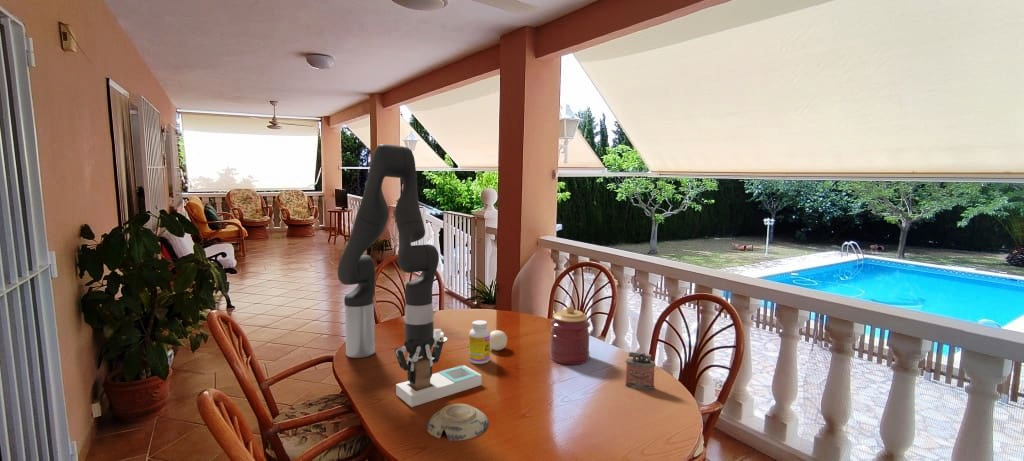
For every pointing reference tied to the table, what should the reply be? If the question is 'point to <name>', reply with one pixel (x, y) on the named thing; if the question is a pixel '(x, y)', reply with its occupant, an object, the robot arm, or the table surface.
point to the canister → (569, 337)
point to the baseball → (497, 340)
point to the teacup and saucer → (439, 335)
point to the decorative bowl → (458, 422)
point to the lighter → (640, 371)
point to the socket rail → (440, 385)
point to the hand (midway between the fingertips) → (419, 380)
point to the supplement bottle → (479, 343)
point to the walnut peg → (421, 374)
